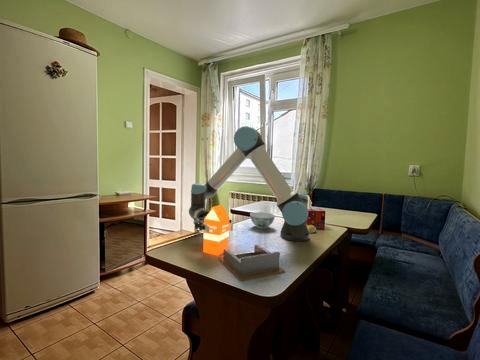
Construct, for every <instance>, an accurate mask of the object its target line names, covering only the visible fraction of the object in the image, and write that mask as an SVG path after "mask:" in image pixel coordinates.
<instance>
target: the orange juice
mask: <svg viewBox="0 0 480 360" xmlns="http://www.w3.org/2000/svg"><path fill="white" fill-rule="evenodd" d="M229 220H230V216H229V214H228V212H227V210H226V208H225V207H224V204H219V205H215V206H212V207H211V209H210V210H209V213H208V215H207V216H206V218H205V219H204V224H207V225H208V226H209V233H207V232H206V231H204V230H203V242H202V243H203V244H202V245H203V248H202V249H203V250H202V252H203V253H205V254H209V255H214V256H218V257H220V255H222V254H223V251H224V249H225V248H227V249H228V250H229V238H230V237H229V236H230V235H229V233H230V230H229V229H228V222H229Z"/></svg>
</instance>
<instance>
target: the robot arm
mask: <svg viewBox="0 0 480 360" xmlns="http://www.w3.org/2000/svg"><path fill="white" fill-rule="evenodd" d="M233 143H234V145H235V147H236V148H235V150H234V151H233V152H232V153H231V155H230V156H229V157H228V158H227V159H226V160H225V161H224V163H223V164H222V165H221V166H220V167H219V169H217V171H215V173H214V174H213V175H212V176H211V177H210V179H208V181H207V182H206V183H192V184H191V189H190V192H191V193H190V207H189V209H188V214H189V216H190V218H191V219H193V224H194V229H199V231H203V232H204V231H206V232H207V233H209V226H208V225H207V224H204V219H205V218H206V216H207V215H208V213H209V212H210V210H207V209H206V200H209V199H212V198H213V197H214V196H215V195H216V194H217V191H218V190H219V189H220V188H221V187H222V186H223V185H224V184H225V182H226V181H227V180H228V179H229V178H230V177H231V176H232V175H233V173H235V171H237V170H238V168H239V167H240V166H241V165H242V164H243V163H244V161H245V160H246V159H248V160H250V161H251V162H252V164H253V166H254V167H255V168H256V170H257V172H258V173H259V175H261V177H262V179H263V180H264V182H265V184H266V186H267V187H268V188H269V190H270V191H271V193H272V194H273V196H274V197H275V199H276V206H277V208H278V209H279V211H280V212H281V216H282V219H283V220H284V221H283V224H282V227H281V230H280V234H279V236H280V237H281V238H282V239H284V240H288V241H293V242H294V241H295V242H306V241H308V240H309V239H310V233H309V232H308V228H307V225H308V224H307V220H308V217H309V207H308V205H309V204H308V203H309V197H308V195H304V194H299V193H298V192H297V191H296V190H292V188H291V187H290V185H289V183H288V182H287V181H286V179H285V177H284V176H283V174H282V172H281V171H280V170H279V169H278V167H277V166H276V164H275V162H274V161H273V160H272V157H271V156H270V155H269V153H268V152H267V150H266V147H267V145H266V143H265V142H264V140H263V136H262V134H261V133H260V131H258V130H256V129H255V127H252V126H249V125H244V126H241V127H239V128H238V129H237V130H236V131H235V132H234V135H233ZM232 222H233V221H232V219H229V222H228V229H229V231H232V232H233V230H234V229H233V228H234V227H233V226H234V224H233V223H232Z"/></svg>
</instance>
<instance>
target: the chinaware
mask: <svg viewBox="0 0 480 360" xmlns="http://www.w3.org/2000/svg"><path fill="white" fill-rule="evenodd" d="M249 215H250V220H251V222H252V223H253V224H254V225H255V227H256V228H257V229H261V230H263V229H264V230H265V229H268V227H269V226H271V225H272V224H273V222H274V221H275V218H276V215H275V214H273V213H271V212H264V211H261V212H257V211H255V212H251V213H249Z"/></svg>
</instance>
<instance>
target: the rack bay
mask: <svg viewBox="0 0 480 360" xmlns="http://www.w3.org/2000/svg"><path fill="white" fill-rule="evenodd" d="M222 254H223V255H222V256H218V258H217V259H218V261H220V262H221V263H222V265H223V266H224V267H226V268H227V270H229V271H230V273H232V274H233V275H234V276H235V278H237V279H238V280H239V281H240V282H244V281H249V280H253V279H259V278H263V277H268V276H273V275H279V274H282V273H283V274H284V273H285V272H286V270H285V269H284V268H282V267H280V260H281V259H280V257H281V252H280V251H275V252H270V251H269V250H267V249H266V248H264V247H262V246H261V245H259V244H254V250H252V251H247V252H246V251H245V252H238V253H233V252H232V251H231V250H229V248H228V249H227V248H225V249H224V251H223V253H222Z"/></svg>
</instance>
